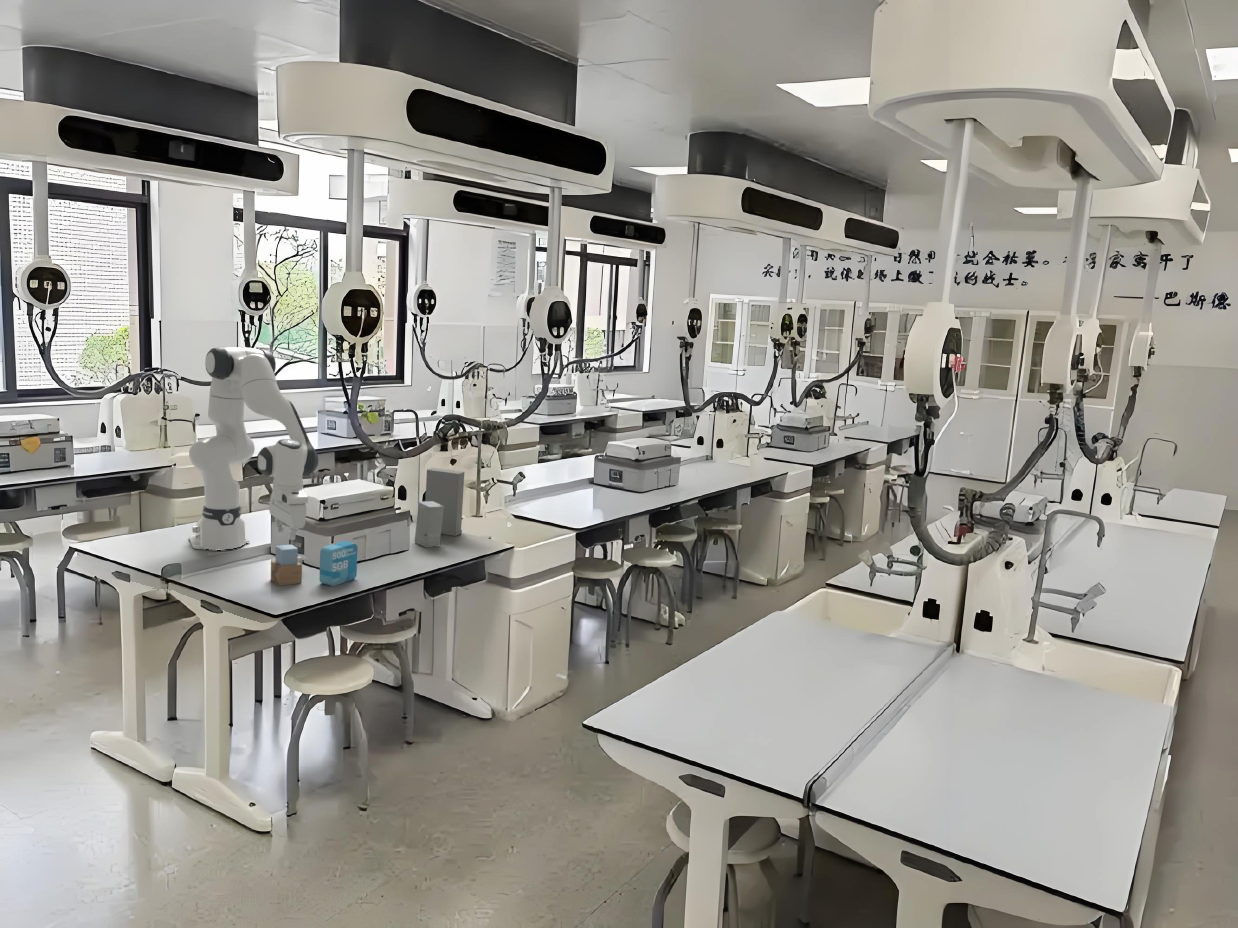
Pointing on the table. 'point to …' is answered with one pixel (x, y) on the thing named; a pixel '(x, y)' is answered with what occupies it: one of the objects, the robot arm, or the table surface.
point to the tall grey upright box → (447, 497)
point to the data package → (338, 563)
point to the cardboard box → (286, 573)
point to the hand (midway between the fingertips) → (285, 535)
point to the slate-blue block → (286, 555)
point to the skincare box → (429, 524)
